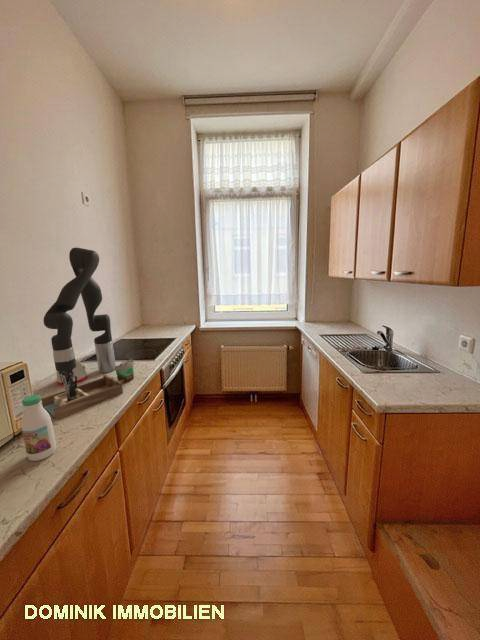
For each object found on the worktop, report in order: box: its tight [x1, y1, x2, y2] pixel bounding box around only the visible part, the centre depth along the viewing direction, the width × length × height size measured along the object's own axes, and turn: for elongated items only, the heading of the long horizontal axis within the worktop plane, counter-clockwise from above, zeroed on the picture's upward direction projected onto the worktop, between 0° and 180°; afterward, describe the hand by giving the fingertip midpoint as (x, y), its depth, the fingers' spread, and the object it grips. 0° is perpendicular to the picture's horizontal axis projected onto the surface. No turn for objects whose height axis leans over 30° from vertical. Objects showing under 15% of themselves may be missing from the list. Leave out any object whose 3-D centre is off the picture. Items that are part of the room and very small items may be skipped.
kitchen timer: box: [56, 360, 88, 387], centre depth 144 cm, size 14×14×15 cm
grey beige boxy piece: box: [54, 383, 89, 407], centre depth 117 cm, size 12×10×9 cm
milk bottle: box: [21, 394, 57, 462], centre depth 85 cm, size 8×8×20 cm
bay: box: [41, 374, 124, 421], centre depth 122 cm, size 16×28×6 cm, turn 142°
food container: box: [114, 357, 135, 384], centre depth 142 cm, size 12×6×10 cm, turn 168°
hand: (71, 395), depth 117 cm, fingers closed on grey beige boxy piece, 3 cm apart
